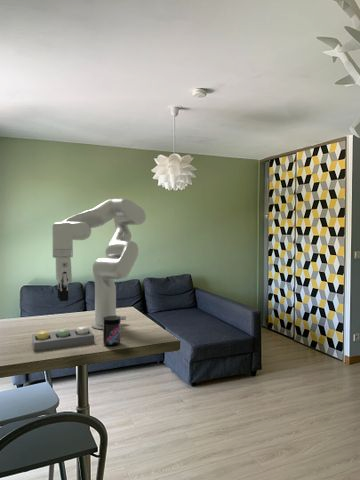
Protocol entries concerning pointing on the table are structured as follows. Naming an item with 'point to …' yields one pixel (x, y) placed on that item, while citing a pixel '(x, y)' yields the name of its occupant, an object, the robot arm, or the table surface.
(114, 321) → the supplement container
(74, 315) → the table surface
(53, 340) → the button panel
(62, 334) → the green button
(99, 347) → the table surface
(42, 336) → the mustard button
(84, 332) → the white button
